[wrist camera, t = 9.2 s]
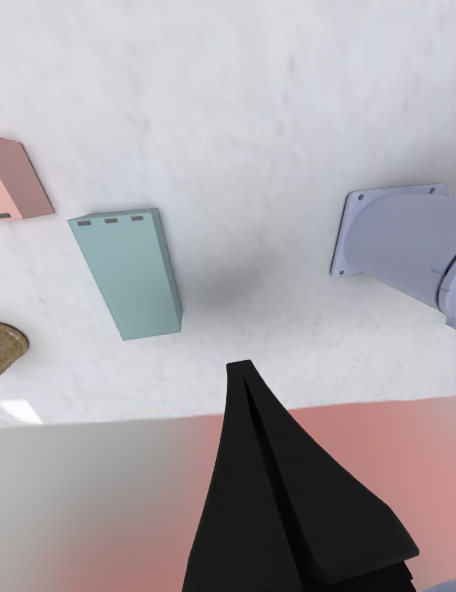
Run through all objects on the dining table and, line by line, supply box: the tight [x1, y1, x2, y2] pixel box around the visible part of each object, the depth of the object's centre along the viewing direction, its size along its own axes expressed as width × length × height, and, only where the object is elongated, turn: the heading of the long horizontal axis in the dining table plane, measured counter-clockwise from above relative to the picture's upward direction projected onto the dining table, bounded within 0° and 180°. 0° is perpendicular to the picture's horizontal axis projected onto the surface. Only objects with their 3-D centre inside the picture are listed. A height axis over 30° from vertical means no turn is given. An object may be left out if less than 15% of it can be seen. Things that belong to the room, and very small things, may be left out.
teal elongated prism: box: [67, 208, 182, 341], centre depth 16 cm, size 5×10×3 cm, turn 4°
